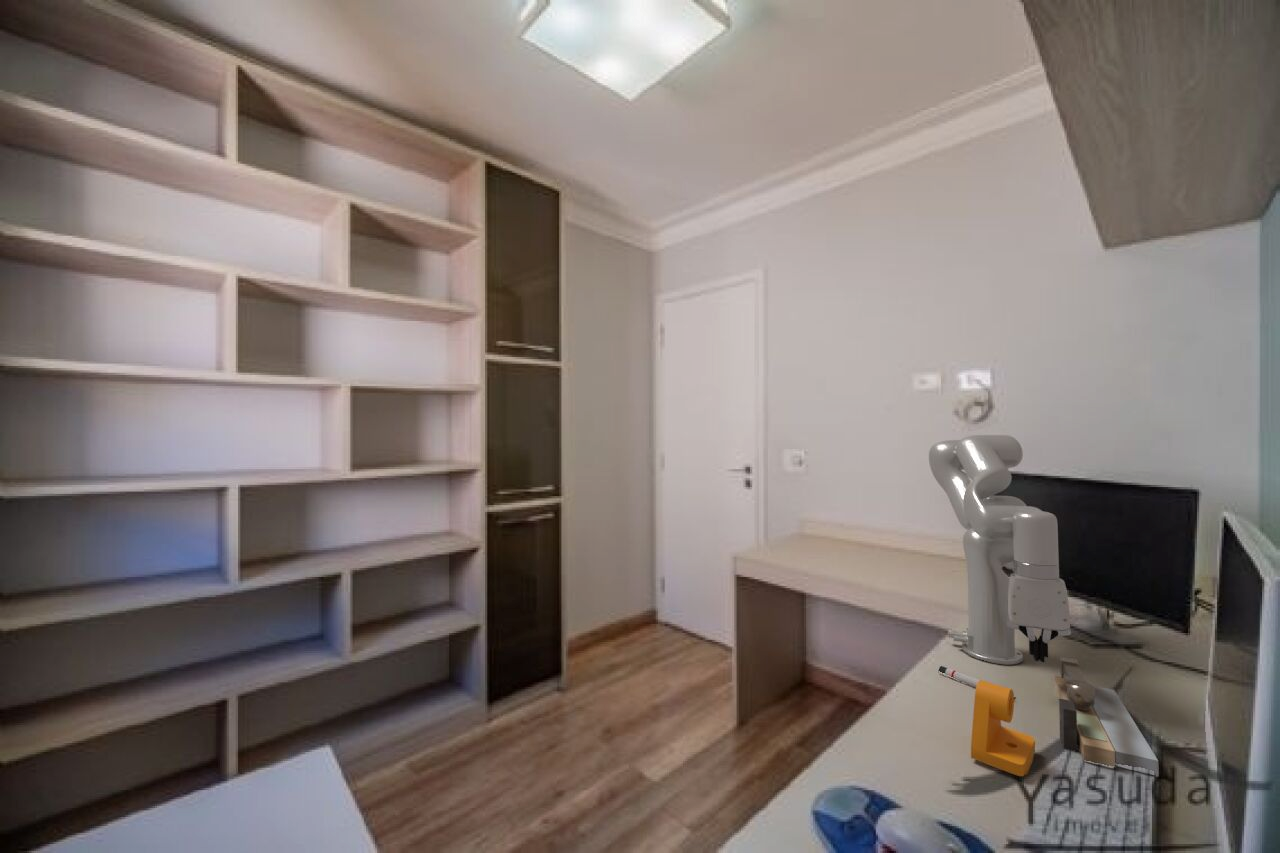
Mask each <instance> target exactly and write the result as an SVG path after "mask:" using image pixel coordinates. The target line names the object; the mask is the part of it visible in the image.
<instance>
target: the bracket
mask: <svg viewBox="0 0 1280 853" xmlns="http://www.w3.org/2000/svg"><path fill="white" fill-rule="evenodd" d="M978 680H979V681H978V683H977V686H976V688H975V691H974V692H975V693H974V705H973V714H972V729H971V741H970V758H971V759H973V760H976V761H979V762H981V763H984V764H986V765H989V766H992V767H994V768H997V769H999V770H1002V771H1004V772H1006V773H1010V774H1012V775H1015V776H1018V777H1024V776H1027V775H1028V773H1029V771H1030V768H1031V765H1032V764H1033V761H1034V754H1035V752H1036V739H1035V737H1033V736H1032V735H1029V734H1026V733H1023V732H1020V731H1018V730H1014V729H1011V728H1010V727H1009V728H1008V727H1005V726H1003V725H1002V721H1003V722H1004V723H1008V724H1010V723H1012V720H1013V716H1014V708H1015V707H1014V706H1015V700H1014V697H1015V694H1014V689H1012V688H1009V687H1006V686H1005V687H1004V686H1002V685H1000V684H999V685H998V684H995V683H992V682H988V681H984V680H982V679H978Z"/></svg>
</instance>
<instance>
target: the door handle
mask: <svg viewBox="0 0 1280 853" xmlns="http://www.w3.org/2000/svg"><path fill="white" fill-rule="evenodd" d="M1079 666H1080V663H1079V662H1078V659H1074V658H1073V659H1072V658H1066V657H1062V656H1059V676H1061V678H1064V680H1065V682H1066V685H1067V698H1068V699H1069V700H1070V701H1072V702H1074V703H1077V704H1080V705H1084V706H1093V705H1095V690H1094V686H1095V685H1093V684H1091V683H1089V682H1087V680H1086V678H1085V677H1084V675H1083V673H1082V671H1081V669H1080V668H1079Z"/></svg>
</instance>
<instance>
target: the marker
mask: <svg viewBox="0 0 1280 853" xmlns="http://www.w3.org/2000/svg"><path fill="white" fill-rule="evenodd" d="M939 671H940V672H942V673H945V674H946V675H949V676H951V677H953V678H955V679H957V680H959V681H961V682H964V683H966V684H968V685H967V686H969V685H970V686H969V687H971V686H972V687H971V688H973V689H976V686H977V683H978V681H979V680H980V679H978V678H975V677H973V676H970V675H968V674H967V675H966V674H964V673H961V672H959V671H956V670H955V669H951V668H948V667H945V666H943V665H939V668H938V672H939ZM961 682H960V683H961ZM966 684H965V685H966ZM1016 699H1017V697H1016V696H1014V701H1015V700H1016Z"/></svg>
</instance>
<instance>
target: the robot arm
mask: <svg viewBox="0 0 1280 853" xmlns="http://www.w3.org/2000/svg"><path fill="white" fill-rule="evenodd" d="M1023 453H1024V452H1023V448H1022V446H1021V444H1020V442H1019V440H1017V439H1016V438H1015V437H1013V436H1011V435H1008V434H979V435H978V434H977V435H968V436H965V437H963V438H961V439H951V440H942V441H940V442H936V443H935V444H932V446H931V447H930V449H929V451H928V462H929V467H930V470H931V473H932V475H933V477H934V479H935V481H936V482H937V483H938V484H939V486H940V487H941V488H942V489H943V491H944V492H945V493H946V496H947V497H948V500H949V502H950V504H951V506H952V509H953V511H954V514H955V515H956V518H957V520H958V522H959V524H960V525H961V526H962V527H963V528H964V529H965V530H966V531H965V532H964V534H963V537H962V547H963V552H964V556H965V560H966V568H967V595H968V597H967V601H968V602H967V603H968V604H967V605H968V607H967V609H968V610H967V613H968V615H967V616H968V628H966V630H962V631H956V630H953V629H948V630H947V638H949V639H950V638H951V639H953V641H955V642H957V643H958V642H961V649H962V648H963V650H964V651H966V652H967V653H968V654H970V655H972V656H973V657H972V656H971V657H972V658H974V657H975V658H974V659H977V658H978V659H977V660H979V659H981V660H980V661H982V660H984V661H983V662H986V661H987V663H990V662H991V663H990V664H997V665H1005V666H1006V665H1017V664H1020V663H1022V662H1023V661H1024V655H1023V653H1022V652H1021V651H1020V650H1019V649H1017V648H1016V644H1015V643H1016V641H1015V639H1016V638H1015V635H1016V634H1015V630H1017V631H1020V632H1021V633H1022V634H1023V635H1024V636H1025V637H1026V638H1027V639H1028V648H1029V649H1028V653H1029V655H1030V656H1032V657H1033V660H1034V662H1041V663H1046V662H1045V658H1049V643H1050V642H1051V641H1052V640H1053V639H1055V638H1057V637H1059V636H1061V637H1062V636H1063V637H1065V636H1070V635H1072V631H1071V629H1070V628H1071V615H1070V604H1069V603H1070V602H1069V596H1068V592H1067V591H1068V590H1067V586H1066V583H1065V580H1064V579H1062V578H1060V564H1059V563H1060V562H1059V561H1060V559H1059V557H1060V556H1059V530H1058V527H1059V526H1058V519H1057V516H1056V515H1055V514H1053V513H1050V512H1048V511H1043V510H1041V509H1040V508H1039V507H1036V506H1031V505H1030V506H1027V504H1026V503H1025V502H1024V501H1023V500H1022V499H1021V498H1018V497H1016V496H1010V495H997V494H999V493H1001V492H1003V491H1004V490H1007V488H1009V486H1010V484H1011V483H1012V478H1013V476H1012V474H1011V471H1010V470H1009V469H1011V468H1015V467H1018V466H1019V465H1020V464H1021V461H1022V460H1023ZM1003 567H1005V569H1006V570H1010V571H1012V572H1013V573H1010V576H1008V575H1007V574H1006V572H1004V570H1003ZM1035 628H1036V629H1041V631H1040V635H1039V637H1038V638H1037V636H1036V635H1035ZM963 650H962V651H963ZM964 651H963V652H964ZM968 654H967V655H968ZM970 655H969V656H970Z"/></svg>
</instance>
